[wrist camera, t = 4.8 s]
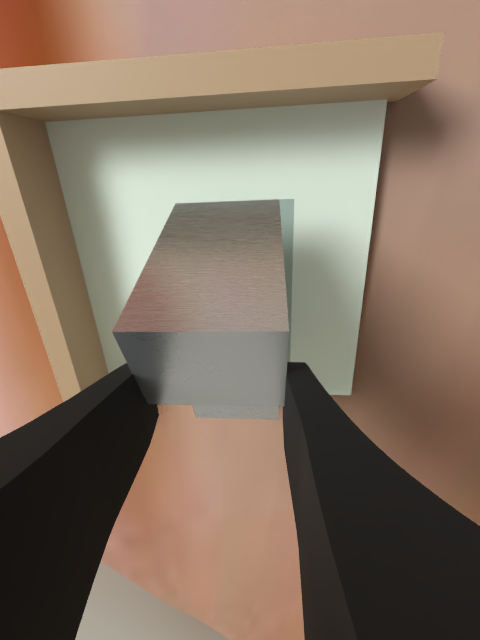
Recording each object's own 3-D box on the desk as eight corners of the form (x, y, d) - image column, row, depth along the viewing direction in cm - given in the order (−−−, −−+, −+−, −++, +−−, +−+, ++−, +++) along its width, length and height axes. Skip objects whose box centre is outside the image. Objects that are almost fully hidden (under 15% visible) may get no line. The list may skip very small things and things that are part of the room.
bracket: (276, 355, 18) (280, 485, 13) (207, 355, 18) (184, 482, 13) (279, 199, 12) (289, 331, 7) (175, 203, 12) (112, 332, 7)
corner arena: (401, 66, 13) (444, 32, 10) (358, 389, 20) (375, 430, 17) (20, 94, 15) (-48, 73, 11) (99, 386, 21) (70, 423, 18)
